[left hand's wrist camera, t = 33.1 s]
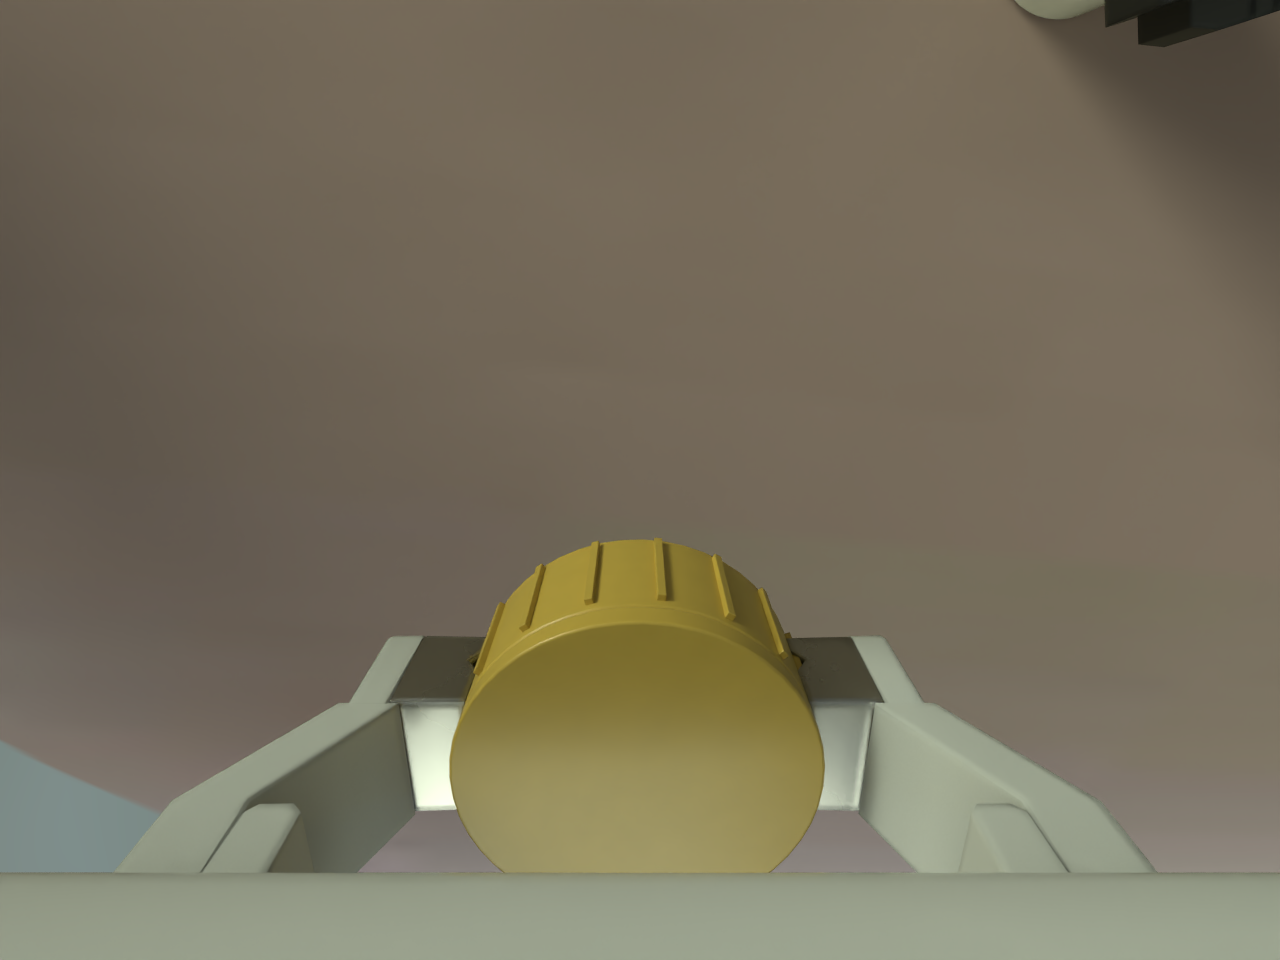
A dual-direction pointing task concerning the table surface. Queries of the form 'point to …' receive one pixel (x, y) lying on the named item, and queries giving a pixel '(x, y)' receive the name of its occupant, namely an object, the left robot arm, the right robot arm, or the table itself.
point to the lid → (636, 721)
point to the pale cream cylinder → (1059, 7)
